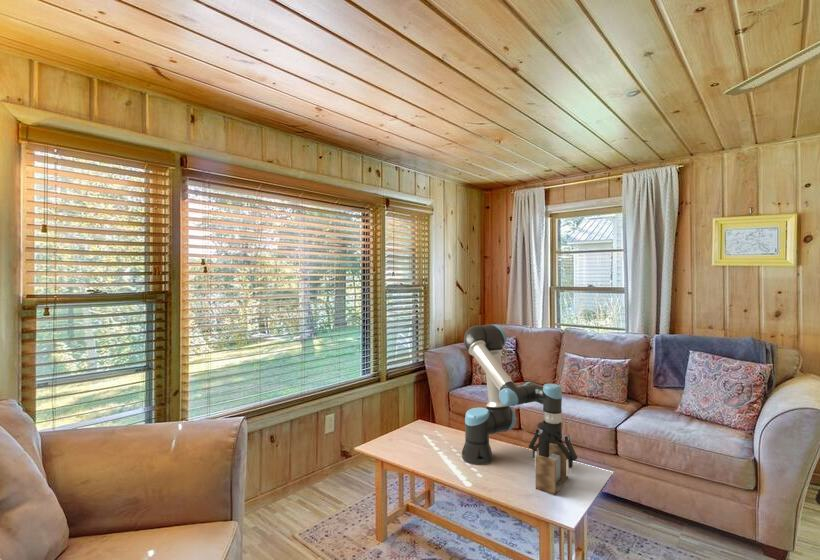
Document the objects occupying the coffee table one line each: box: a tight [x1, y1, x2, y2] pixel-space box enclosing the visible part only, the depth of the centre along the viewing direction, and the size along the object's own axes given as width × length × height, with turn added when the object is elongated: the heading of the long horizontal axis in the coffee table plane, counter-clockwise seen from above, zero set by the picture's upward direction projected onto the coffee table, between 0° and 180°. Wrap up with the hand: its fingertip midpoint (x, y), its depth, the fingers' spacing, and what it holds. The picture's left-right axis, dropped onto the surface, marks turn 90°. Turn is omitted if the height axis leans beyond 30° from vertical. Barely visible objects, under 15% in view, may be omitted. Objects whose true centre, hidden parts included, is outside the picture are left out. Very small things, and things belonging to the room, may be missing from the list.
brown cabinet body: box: [535, 443, 569, 496], centre depth 175 cm, size 8×17×14 cm, turn 141°
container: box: [537, 421, 557, 458], centre depth 192 cm, size 9×9×20 cm
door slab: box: [548, 454, 560, 483], centre depth 176 cm, size 4×10×10 cm, turn 141°
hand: (552, 470), depth 175 cm, fingers open, 13 cm apart
